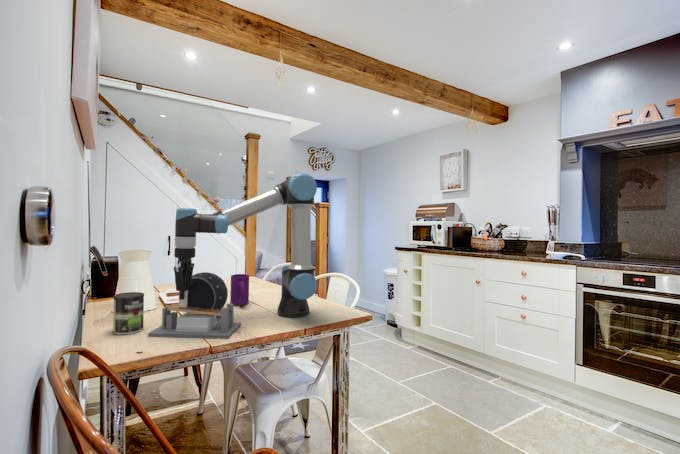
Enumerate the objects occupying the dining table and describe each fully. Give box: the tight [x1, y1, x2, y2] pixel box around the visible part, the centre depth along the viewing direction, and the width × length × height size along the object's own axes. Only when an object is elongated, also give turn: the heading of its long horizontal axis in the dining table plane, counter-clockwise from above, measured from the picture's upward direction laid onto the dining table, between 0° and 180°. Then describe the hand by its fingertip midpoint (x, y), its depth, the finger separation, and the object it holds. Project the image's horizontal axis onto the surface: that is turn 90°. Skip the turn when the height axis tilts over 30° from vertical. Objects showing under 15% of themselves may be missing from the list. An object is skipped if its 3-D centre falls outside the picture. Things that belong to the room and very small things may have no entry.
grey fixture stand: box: [147, 303, 242, 340], centre depth 138 cm, size 30×16×10 cm, turn 89°
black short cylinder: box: [187, 271, 229, 310], centre depth 157 cm, size 11×20×20 cm, turn 78°
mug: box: [229, 273, 250, 307], centre depth 179 cm, size 9×16×15 cm, turn 24°
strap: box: [167, 304, 232, 317], centre depth 138 cm, size 24×4×2 cm, turn 90°
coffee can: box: [112, 291, 145, 336], centre depth 137 cm, size 10×10×14 cm
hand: (182, 307), depth 138 cm, fingers closed
